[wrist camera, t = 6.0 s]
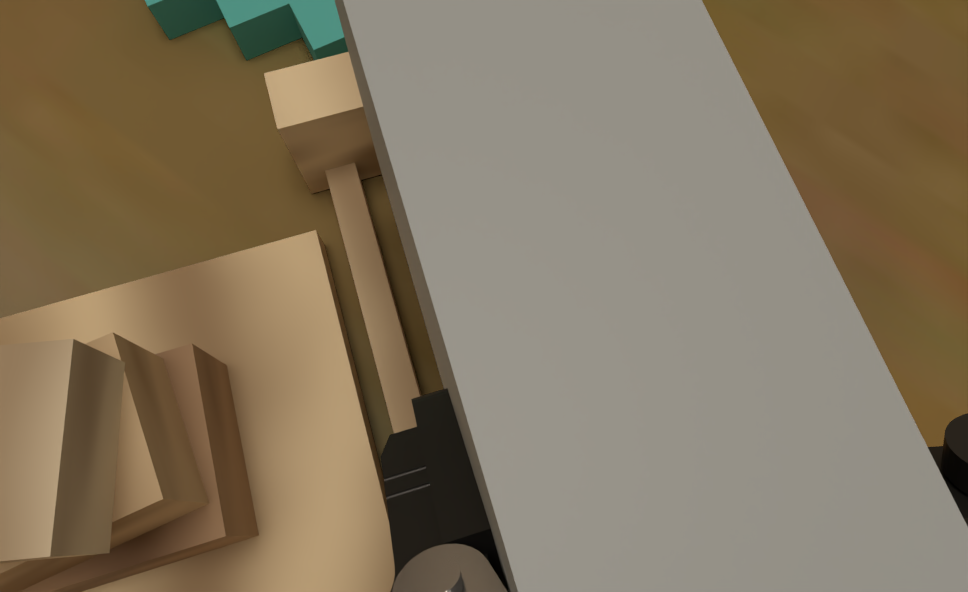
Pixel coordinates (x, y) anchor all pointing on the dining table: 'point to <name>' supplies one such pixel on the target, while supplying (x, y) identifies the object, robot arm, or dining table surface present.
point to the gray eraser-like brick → (639, 308)
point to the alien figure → (259, 22)
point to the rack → (281, 363)
